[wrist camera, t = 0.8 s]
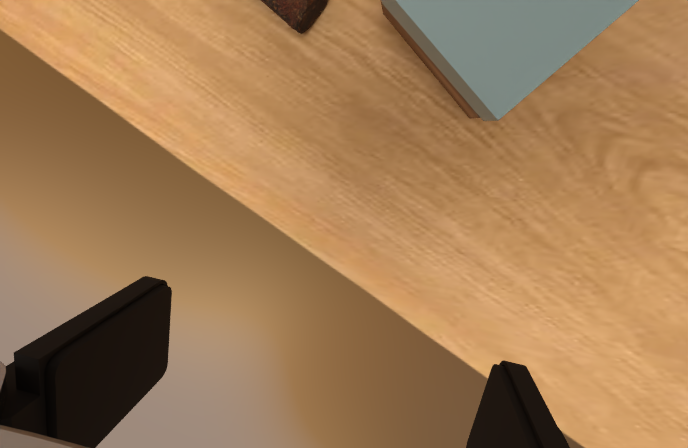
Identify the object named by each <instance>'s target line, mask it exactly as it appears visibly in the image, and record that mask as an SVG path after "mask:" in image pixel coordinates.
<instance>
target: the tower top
mask: <svg viewBox="0 0 688 448" xmlns="http://www.w3.org/2000/svg"><path fill="white" fill-rule="evenodd" d="M381 1H382V4H383V5H384V6H385V7H386V8H387V10H388V11H389V12H390V13H391V14H392V15H393V16H394V18H395V19H396V20H397V21H398V22H399V23H400V25H401V26H402V27H403V28H404V29H405V30H406V32H407V33H408V34H409V35H410V36H411V37H412V39H413V40H414V41H415V42H416V43H417V44H418V46H419V47H420V48H421V49H422V50H423V51H424V53H425V54H426V55H427V56H428V57H429V58H430V60H431V61H432V62H433V63H434V64H435V65H436V67H437V68H438V69H439V70H440V71H441V72H442V73H443V75H444V76H445V77H446V78H447V79H448V80H449V82H450V83H451V84H452V85H453V86H454V87H455V89H456V90H457V91H458V92H459V93H460V94H461V96H462V97H463V98H464V99H465V100H466V101H467V103H468V104H469V105H470V106H471V107H472V108H473V110H474V111H475V112H476V113H477V114H478V115H479V117H480V118H481V119H482V120H483V121H496V120H499V119H501V118H502V117H503V116H504V115H505V114H506V113H508V112H509V111H510V110H511V109H512V108H513V107H515V106H516V105H517V104H518V103H519V102H520V101H522V100H523V99H524V98H525V97H526V96H527V95H529V94H530V93H531V92H532V91H533V90H534V89H536V88H537V87H538V86H539V85H540V84H541V83H543V82H544V81H545V80H546V79H547V78H548V77H550V76H551V75H552V74H553V73H554V72H556V71H557V70H558V69H559V68H560V67H561V66H563V65H564V64H565V63H566V62H567V61H568V60H570V59H571V58H572V57H573V56H574V55H575V54H577V53H578V52H579V51H580V50H581V49H582V48H584V47H585V46H586V45H587V44H588V43H589V42H591V41H592V40H593V39H594V38H595V37H596V36H598V35H599V34H600V33H601V32H602V31H603V30H605V29H606V28H607V27H608V26H609V25H610V24H612V23H613V22H614V21H615V20H616V19H618V18H619V17H620V16H621V15H622V14H623V13H625V12H626V11H627V10H628V9H629V8H630V7H632V6H633V5H634V4H635V3H636V2H637V1H639V0H381Z"/></svg>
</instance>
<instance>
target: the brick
mask: <svg viewBox="0 0 688 448" xmlns="http://www.w3.org/2000/svg"><path fill="white" fill-rule="evenodd" d="M261 1H262V2H263V3H265V4H266V5H267V6H268V7H269V8H270V9H272V10H273V11H274V12H275V13H276V14H277V15H279V16H280V17H281V18H282V19H283V20H284V21H286V22H287V23H288V25H289V26H291V27H292V28H293V29H294V30H296V31H297V32H298V33H303V32H305V31H306V30H307V29H308V28H309V27H310V26H311V25H312V23H313V22H314V21H315V19H316V18H317V17H318V16H319V14H320V13H321V11H323V10H324V8H325V7H326V5H327V1H328V0H261Z"/></svg>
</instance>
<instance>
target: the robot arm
mask: <svg viewBox="0 0 688 448" xmlns="http://www.w3.org/2000/svg"><path fill="white" fill-rule="evenodd" d="M171 295H172V291H171V288H170V287H168V286H167V282H166V281H165V280H160V279H156V278H152V277H147V276H145V277H142V278H141V279H139V280H137V281H136V282H134V283H132V284H130V285H129V286H127V287H125V288H124V289H122V290H120V291H118V292H117V293H115V294H113V295H112V296H110V297H108V298H106V299H105V300H103V301H102V302H100V303H98V304H96V305H95V306H93V307H91V308H89V309H88V310H86V311H84V312H83V313H81V314H79V315H77V316H76V317H74V318H72V319H71V320H69V321H67V322H65V323H64V324H62V325H60V326H59V327H57V328H55V329H54V330H52V331H50V332H48V333H47V334H45V335H43V336H42V337H40V338H38V339H36V340H35V341H33V342H31V343H30V344H28V345H26V346H24V347H23V348H21V349H20V350H18V351H16V352H14V362H12V363H11V364H9V365H7V366H5V365H4V364H3V363H2V362H0V448H95V447H96V446H97V445H98V444H99V443H100V442H101V441H102V440H103V439H104V438H105V437H106V436H107V435H108V434H109V433H110V432H111V431H112V430H113V428H114V427H115V426H116V425H117V424H118V423H119V422H120V421H121V420H122V419H123V418H124V417H125V416H126V415H127V414H128V413H129V411H131V409H132V408H133V407H134V406H135V405H136V404H137V403H138V402H139V401H140V400H141V399H142V398H143V397H144V396H145V395H146V394H147V393H148V391H150V390H151V389H152V387H153V386H154V385H155V384H156V383H157V382H158V381H159V380H160V379H161V378H162V377H163V375H164V373H165V371H166V369H167V363H168V347H169V330H170V312H171ZM466 448H570V447H569V445H568V443H567V441H566V439H565V437H564V435H563V434H562V432H561V430H560V429H559V428H558V427H557V425H556V423H555V421H554V419H553V417H552V415H551V413H550V411H549V409H548V407H547V405H546V404H545V402H544V400H543V398H542V396H541V394H540V392H539V390H538V388H537V386H536V384H535V382H534V380H533V378H532V377H531V375H530V373H529V371H528V369H527V367H526V366H524V365H520V364H516V363H512V362H508V361H502V362H501V363H500V364H499V365H497V364H494V365H493V366H492V369H491V372H490V375H489V378H488V381H487V384H486V387H485V390H484V393H483V396H482V399H481V402H480V405H479V408H478V411H477V414H476V418H475V420H474V423H473V426H472V429H471V432H470V435H469V438H468V442H467V446H466Z"/></svg>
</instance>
